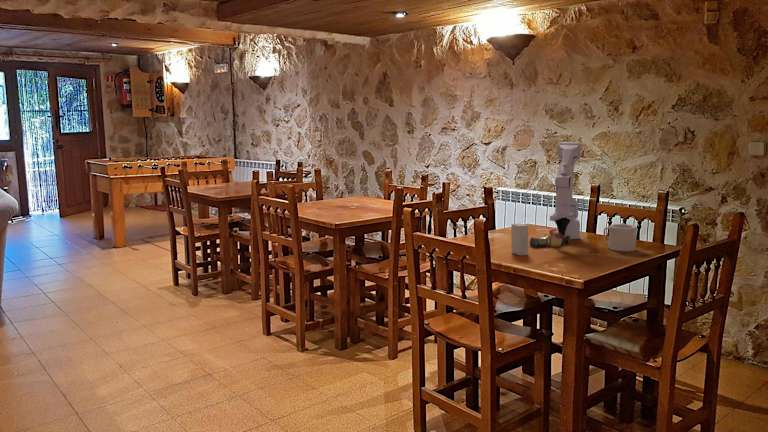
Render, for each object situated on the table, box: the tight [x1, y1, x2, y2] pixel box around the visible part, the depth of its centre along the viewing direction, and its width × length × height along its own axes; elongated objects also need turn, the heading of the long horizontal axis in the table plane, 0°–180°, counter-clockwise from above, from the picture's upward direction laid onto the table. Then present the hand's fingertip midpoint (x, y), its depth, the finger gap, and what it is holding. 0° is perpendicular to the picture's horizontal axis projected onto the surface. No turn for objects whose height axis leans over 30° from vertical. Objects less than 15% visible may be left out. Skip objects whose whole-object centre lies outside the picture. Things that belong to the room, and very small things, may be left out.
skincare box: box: [511, 223, 529, 256], centre depth 248 cm, size 6×4×12 cm
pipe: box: [529, 234, 572, 249], centre depth 265 cm, size 18×5×5 cm, turn 112°
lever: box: [548, 228, 563, 239], centre depth 260 cm, size 12×3×2 cm, turn 1°
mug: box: [602, 223, 638, 253], centre depth 257 cm, size 14×11×10 cm
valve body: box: [542, 233, 563, 247], centre depth 265 cm, size 7×5×5 cm
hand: (561, 235), depth 258 cm, fingers closed, pressing on lever
